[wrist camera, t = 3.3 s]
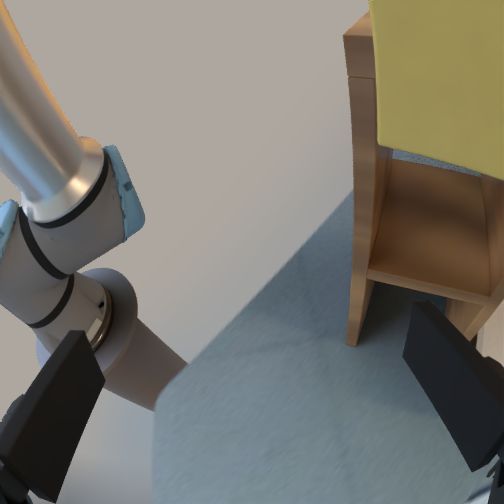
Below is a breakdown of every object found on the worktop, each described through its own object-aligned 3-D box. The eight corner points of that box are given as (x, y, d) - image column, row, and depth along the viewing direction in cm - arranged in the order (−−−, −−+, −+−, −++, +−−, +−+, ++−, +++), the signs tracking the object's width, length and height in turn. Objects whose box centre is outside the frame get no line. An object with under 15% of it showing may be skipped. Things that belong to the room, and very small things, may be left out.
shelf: (444, 368, 27) (596, 100, 5) (345, 344, 32) (342, 34, 10) (456, 267, 34) (514, 32, 12) (374, 248, 39) (373, 5, 17)
